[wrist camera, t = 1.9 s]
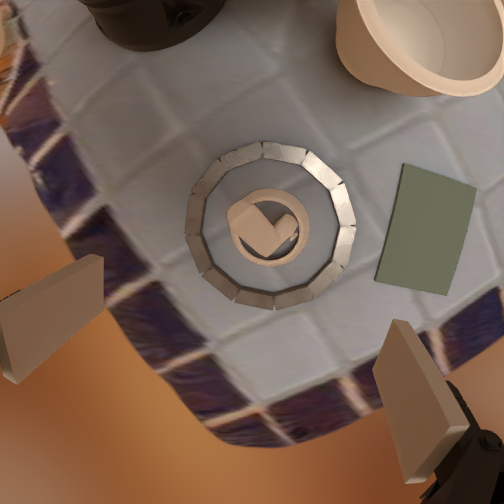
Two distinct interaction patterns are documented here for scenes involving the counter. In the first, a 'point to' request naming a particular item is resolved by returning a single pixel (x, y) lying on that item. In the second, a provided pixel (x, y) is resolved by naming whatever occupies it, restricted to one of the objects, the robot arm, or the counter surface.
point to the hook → (267, 226)
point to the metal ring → (254, 295)
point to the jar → (423, 45)
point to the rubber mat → (425, 231)
